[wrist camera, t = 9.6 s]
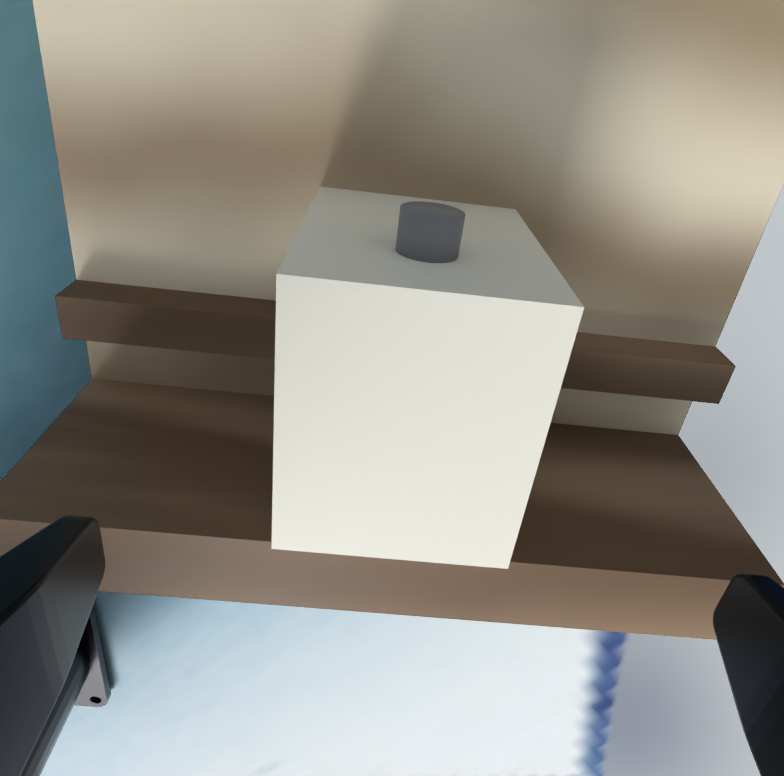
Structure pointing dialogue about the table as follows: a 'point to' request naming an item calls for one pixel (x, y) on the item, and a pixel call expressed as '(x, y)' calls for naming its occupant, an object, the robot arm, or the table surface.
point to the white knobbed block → (413, 378)
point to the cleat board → (420, 180)
